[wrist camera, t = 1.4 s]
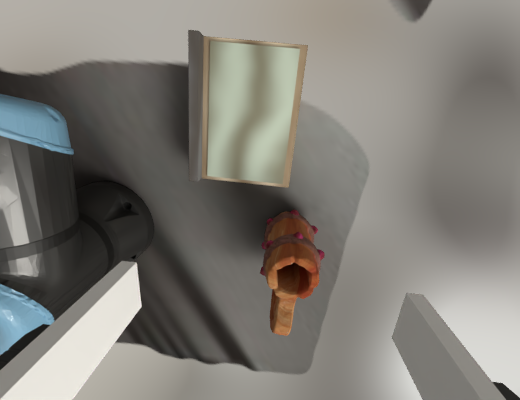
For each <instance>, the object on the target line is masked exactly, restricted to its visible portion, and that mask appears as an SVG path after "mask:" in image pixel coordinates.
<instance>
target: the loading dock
mask: <svg viewBox="0 0 520 400" xmlns="http://www.w3.org/2000/svg"><path fill="white" fill-rule="evenodd" d="M188 32H189V33H188V34H189V181H196V182H198V181H199V180H200V179H201V178H205V179H214V180H223V181H232V182H241V183H251V184H260V185H269V186H278V187H289V180H290V173H291V165H292V158H293V151H294V143H295V136H296V129H297V122H298V114H299V107H300V100H301V92H302V85H303V78H304V70H305V63H306V56H307V48H308V46H307V45H297V44H285V43H275V42H263V41H252V40H241V39H229V38H218V37H217V38H216V37H206V36H203V35H202V34H201V33H200V32H199V31H194V30H189V31H188Z"/></svg>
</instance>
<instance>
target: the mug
mask: <svg viewBox="0 0 520 400" xmlns="http://www.w3.org/2000/svg"><path fill="white" fill-rule="evenodd" d="M267 224H268V225H267V227H266V230H265V236H264V242H263V243H262V248H263V249H265V250H266V251H265V254H264V261H263V267H262V268H261V271H260V273H261V274H262V275H264V276H266V279H267V283H268V285H269V287H270V288H272V289H273V290H272V299H271V309H270V327H271V330H272V332H273V333H276V334H279V335H286V336H287V335H288V334H289V333H290V330H291V326H292V319H293V310H294V305H295V301H296V298H297V297H300V298H302V299H304V298H306V297H308V296H310V295H311V294H312V292H313V288H315V287H317V285H318V283H319V271H320V260H322V259H323V258H324V252H323V251H321V250H317V248H316V247H315V245H314V244H313V242H314V234H316V233H317V231H318V229H317V228H316V227H315V226H311V225H310V224H309V222H308V221H307V220H306V219H305V218H304V217H303V216H301V215H300V214H298V211H297V210H294V209H293V210H292V211H291V212H283V213H281V214H279V215H277V216H276V217H274V218H270V219H268V220H267Z"/></svg>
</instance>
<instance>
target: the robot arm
mask: <svg viewBox="0 0 520 400" xmlns="http://www.w3.org/2000/svg"><path fill="white" fill-rule="evenodd" d="M73 153H74V152H73V149H72V148H71V145H70V140H69V134H68V129H67V124H66V121H65V119H64V117H63V116H62V114H61V113H60V112H59V111H57V110H56V109H55V108H53V107H51V106H49V105H46V104H43V103H39V102H35V101H30V100H26V99H22V98H17V97H12V96H8V95H3V94H0V400H73V398H74V397H75V396H76V394H77V393H78V391H79V390H80V389H81V387H82V386H83V385H84V383H85V382H86V381H87V379H88V378H89V377H90V375H91V374H92V373H93V371H94V370H95V369H96V367H97V366H98V364H99V363H100V362H101V360H102V359H103V358H104V356H105V355H106V354H107V352H108V351H109V350H110V348H111V347H112V346H113V344H114V343H115V342H116V340H117V339H118V338H119V336H120V335H121V333H122V332H123V331H124V329H125V328H126V327H127V325H128V324H129V323H130V321H131V320H132V319H133V317H134V316H135V315H136V313H137V312H138V311H139V309H140V308H141V298H140V289H139V280H138V271H137V263H136V262H131V261H133V260H135V259H136V258H138V257H139V256H140V255H141V254H142V253H143V252H144V251H145V250H146V249H147V248H148V246H149V245H150V243H151V241H152V238H153V234H154V224H153V219H152V216H151V213H150V211H149V209H148V208H147V206H146V205H145V203H144V202H143V201H142V200H141V198H140V197H139V196H137V195H136V194H135V193H134V192H133V191H131V190H130V189H128V188H126V187H124V186H122V185H119V184H116V183H113V182H105V181H101V182H94V183H91V184H88V185H85V186H82V187H80V188H78V189H76V186H75V178H74V170H73V159H72V154H73ZM110 270H111V271H110ZM108 271H110V272H109V273H108V274H107V275H106V276H104V277H103V278H102V279H101V280H100V281H99V282H98V283H97V284H96V285H94V284H95V283H96V282H97V281H98V280H99V279H100V278H101V277H102V276H103V275H104V274H106V273H107V272H108ZM93 285H94V286H93ZM92 286H93V287H92ZM91 287H92V288H91ZM90 288H91V289H90ZM89 289H90V290H89ZM88 290H89V291H88ZM86 291H88V292H87V293H86V294H84V293H85V292H86ZM83 294H84V295H83ZM82 295H83V296H82ZM81 296H82V297H81ZM80 297H81V298H80ZM79 298H80V299H79ZM78 299H79V300H78ZM77 300H78V301H77ZM76 301H77V302H76ZM75 302H76V303H75ZM67 309H68V310H67ZM66 310H67V311H66ZM65 311H66V312H65ZM392 339H393V341H394V343H395V345H396V347H397V348H398V351H399V353H400V355H401V357H402V359H403V361H404V363H405V365H406V366H407V369H408V371H409V373H410V375H411V377H412V379H413V381H414V383H415V385H416V387H417V389H418V391H419V393H420V395H421V397H422V399H423V400H520V398H519V397H518V396H517V395H516V394H514V393H513V392H512V391H511V390H509V388H507V387H506V386H505V385H504V384H503V383H497V382H491V380H490V379H489V377H488V376H487V375H486V374H485V372H484V371H483V370H482V369H481V367H480V366H479V365H478V364H477V362H476V361H475V360H474V358H473V357H472V356H471V355H470V353H469V352H468V351H467V350H466V348H465V347H464V346H463V345H462V343H461V342H460V341H459V339H458V338H457V337H456V336H455V334H454V333H453V332H452V331H451V330H450V328H449V327H448V326H447V324H446V323H445V322H444V320H443V319H442V318H441V317H440V316H439V314H438V313H437V312H436V310H435V309H434V308H433V307H432V305H431V304H430V303H429V302H428V300H427V299H426V298H425V297H424V295H421V294H412V293H406V296H405V298H404V302H403V305H402V308H401V311H400V314H399V317H398V320H397V323H396V327H395V329H394V333H393V335H392Z"/></svg>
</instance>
